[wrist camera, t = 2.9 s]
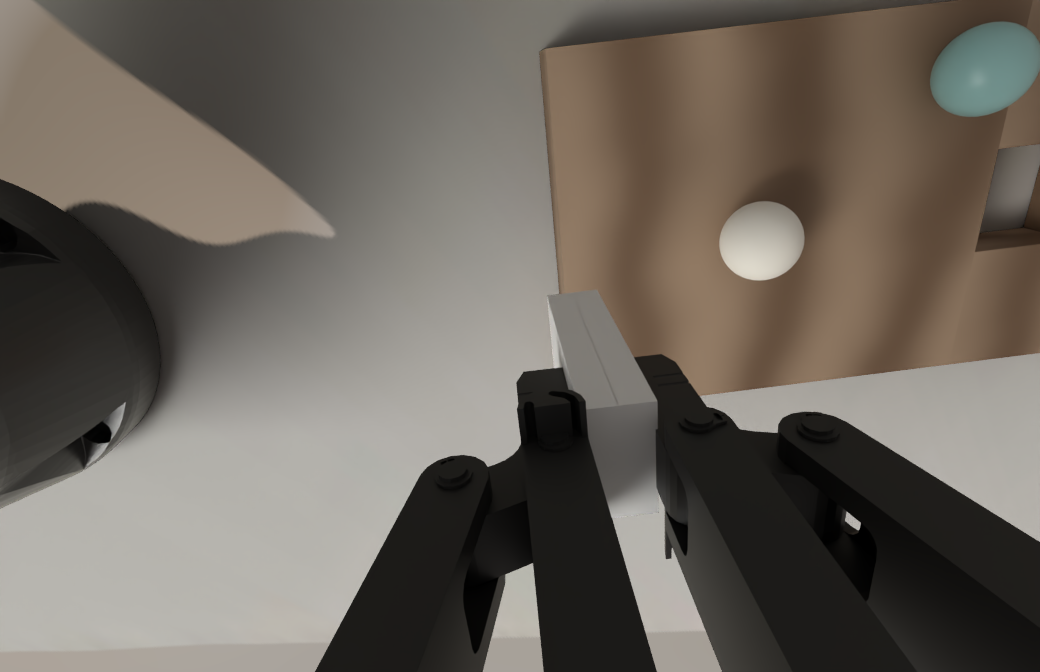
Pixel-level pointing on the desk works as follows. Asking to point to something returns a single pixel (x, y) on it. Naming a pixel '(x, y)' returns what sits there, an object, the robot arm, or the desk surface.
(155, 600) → the desk surface
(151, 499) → the desk surface
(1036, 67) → the teal ball
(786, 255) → the ball
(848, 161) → the board
